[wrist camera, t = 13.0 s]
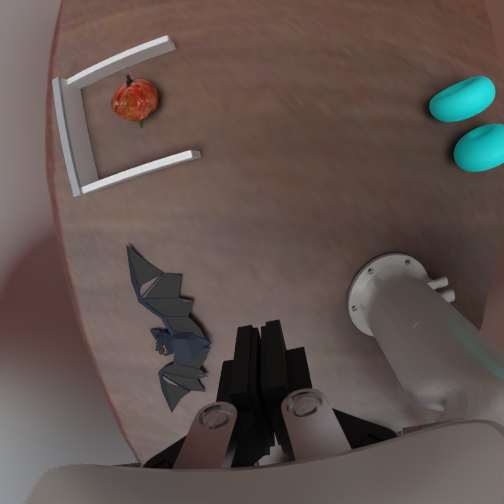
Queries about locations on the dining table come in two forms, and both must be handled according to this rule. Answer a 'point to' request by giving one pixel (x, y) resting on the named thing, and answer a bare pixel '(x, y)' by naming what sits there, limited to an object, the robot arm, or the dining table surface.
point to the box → (76, 127)
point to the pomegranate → (135, 99)
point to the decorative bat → (171, 329)
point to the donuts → (462, 107)
